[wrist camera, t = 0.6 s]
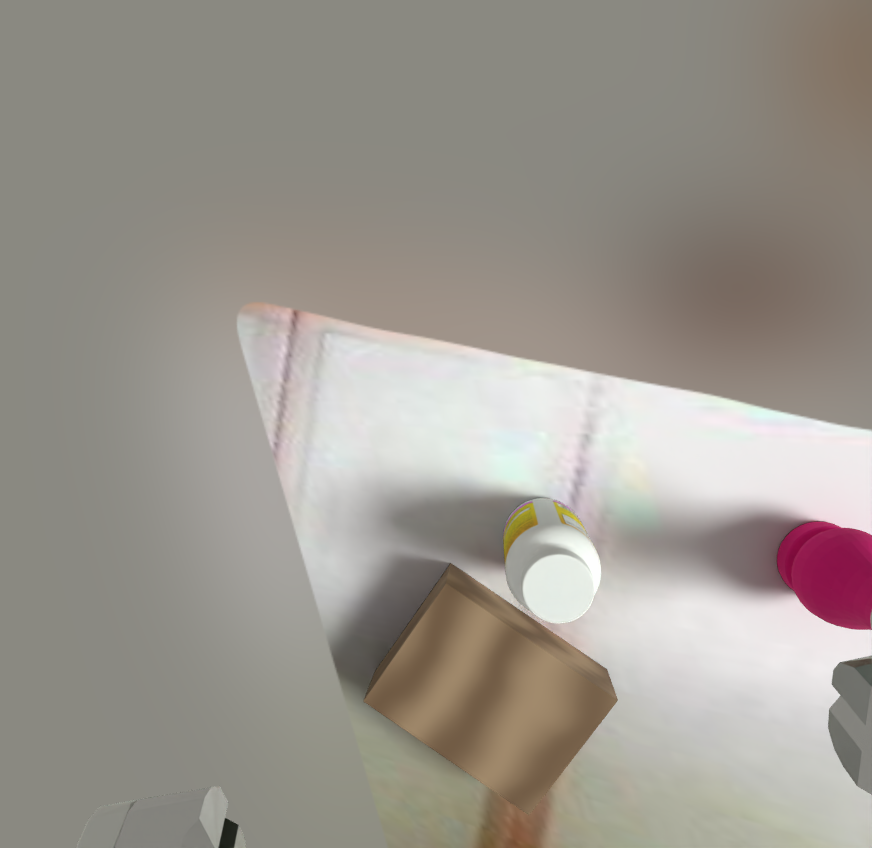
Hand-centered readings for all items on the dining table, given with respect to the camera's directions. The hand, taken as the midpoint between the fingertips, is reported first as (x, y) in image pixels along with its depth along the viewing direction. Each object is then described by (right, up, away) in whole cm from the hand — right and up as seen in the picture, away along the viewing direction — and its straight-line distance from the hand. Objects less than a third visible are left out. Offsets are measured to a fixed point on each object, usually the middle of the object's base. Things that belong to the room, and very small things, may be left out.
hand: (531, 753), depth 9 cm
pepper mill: (+30, -7, +44) cm, 54 cm away
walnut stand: (+3, -17, +47) cm, 50 cm away
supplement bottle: (+8, -5, +46) cm, 47 cm away
